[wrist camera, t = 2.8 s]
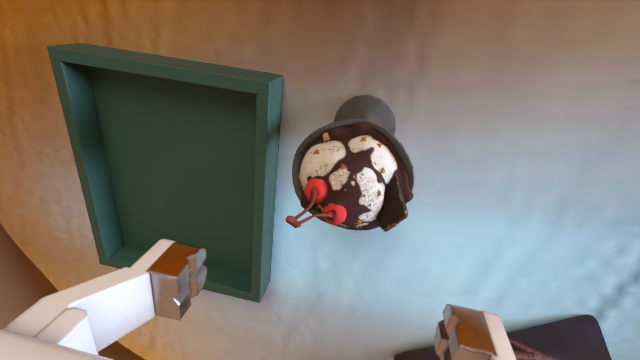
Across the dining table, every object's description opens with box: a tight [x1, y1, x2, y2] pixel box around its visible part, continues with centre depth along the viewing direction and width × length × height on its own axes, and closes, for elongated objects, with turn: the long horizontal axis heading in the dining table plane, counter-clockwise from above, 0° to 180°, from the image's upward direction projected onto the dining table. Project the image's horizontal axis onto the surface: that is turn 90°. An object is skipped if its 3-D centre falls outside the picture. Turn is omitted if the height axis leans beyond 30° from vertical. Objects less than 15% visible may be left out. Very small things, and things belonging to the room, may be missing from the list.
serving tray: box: [47, 43, 283, 303], centre depth 31 cm, size 22×18×3 cm
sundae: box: [286, 95, 414, 232], centre depth 20 cm, size 7×7×15 cm
